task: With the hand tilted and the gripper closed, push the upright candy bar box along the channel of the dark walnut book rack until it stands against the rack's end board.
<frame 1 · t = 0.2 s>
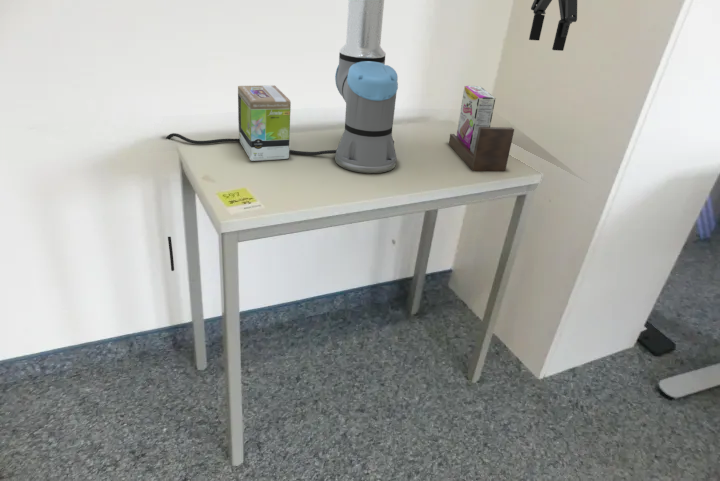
hand: (545, 45, 148), 28 cm above the table, tool pointing down, fingers open, 13 cm apart
candy bar box: (468, 151, 154), resting in book rack
tea box: (263, 150, 142), on the table
book rack: (474, 155, 151), on the table
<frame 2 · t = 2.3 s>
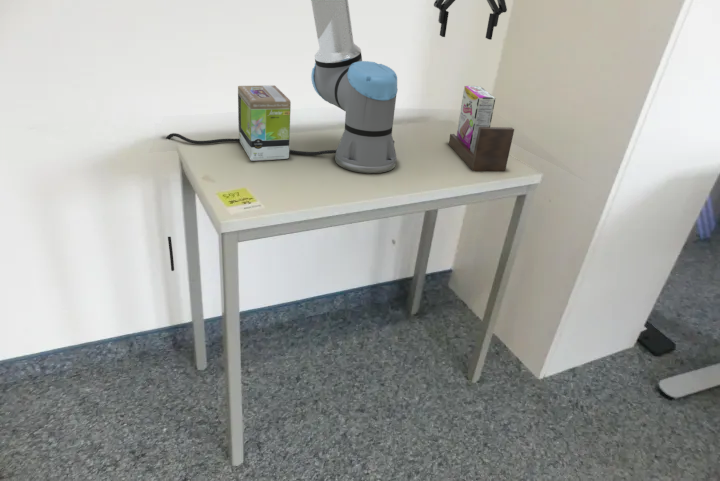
hand: (465, 37, 156), 27 cm above the table, tool pointing down, fingers open, 13 cm apart
nothing on the table moved.
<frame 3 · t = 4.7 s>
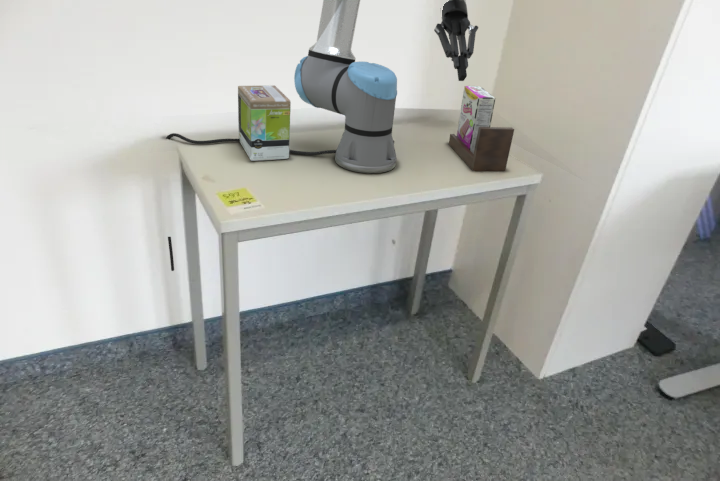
hand: (462, 78, 158), 16 cm above the table, tool tilted 45°, fingers closed
nothing on the table moved.
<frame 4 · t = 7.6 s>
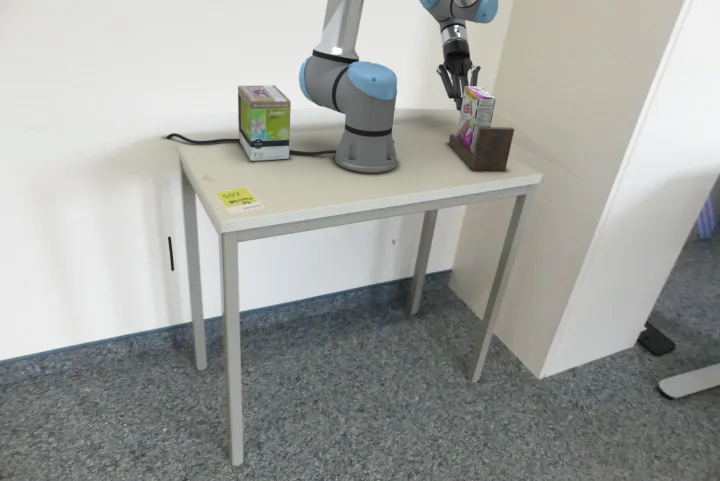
hand: (465, 120, 156), 7 cm above the table, tool tilted 45°, fingers closed
candy bar box: (468, 151, 154), resting in book rack, touching gripper
everything else where it was.
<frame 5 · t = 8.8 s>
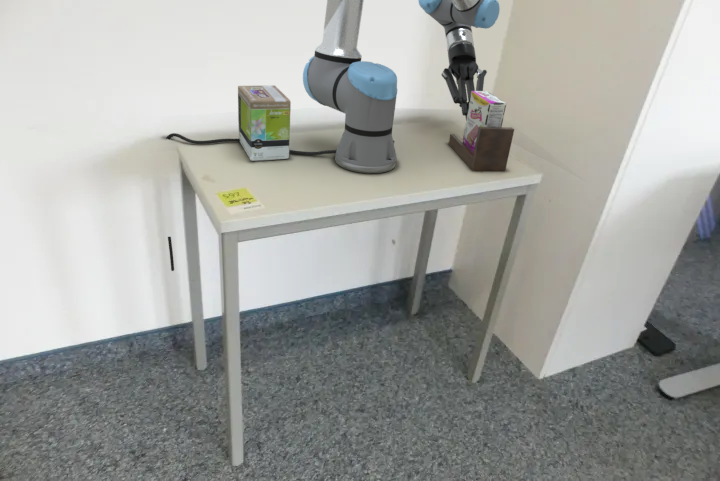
hand: (471, 125, 152), 6 cm above the table, tool tilted 45°, fingers closed
candy bar box: (476, 157, 150), resting in book rack, touching gripper
everything else where it was.
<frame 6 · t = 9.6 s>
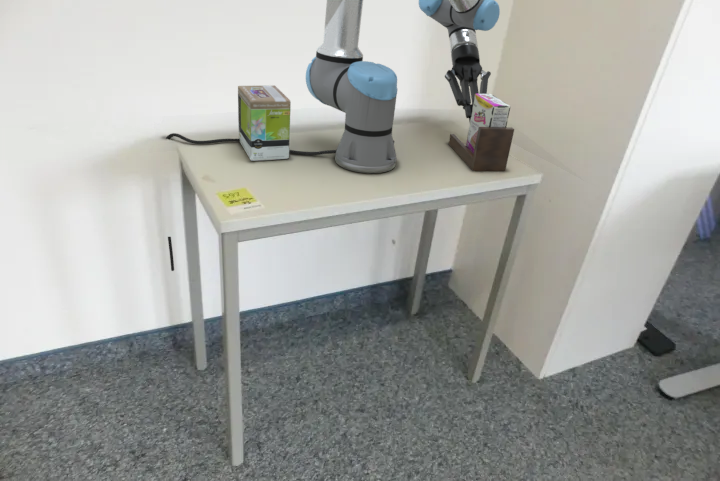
hand: (475, 128, 150), 7 cm above the table, tool tilted 45°, fingers closed
candy bar box: (480, 161, 148), resting in book rack, touching gripper
everything else where it was.
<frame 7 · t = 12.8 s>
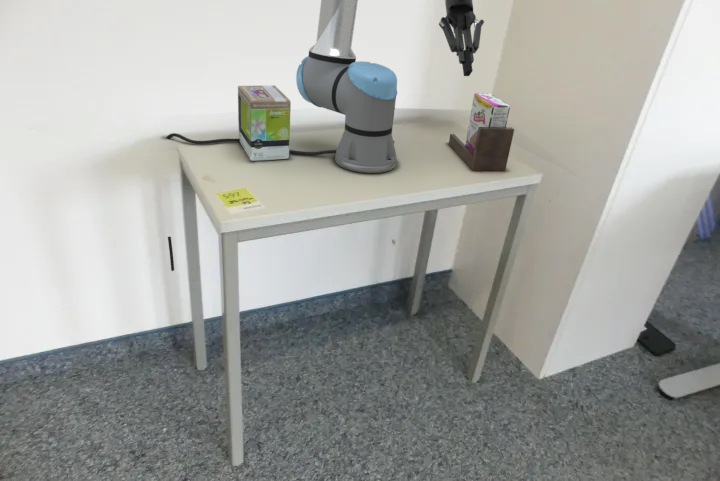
hand: (468, 73, 153), 19 cm above the table, tool tilted 45°, fingers closed
candy bar box: (479, 161, 148), resting in book rack
everything else where it was.
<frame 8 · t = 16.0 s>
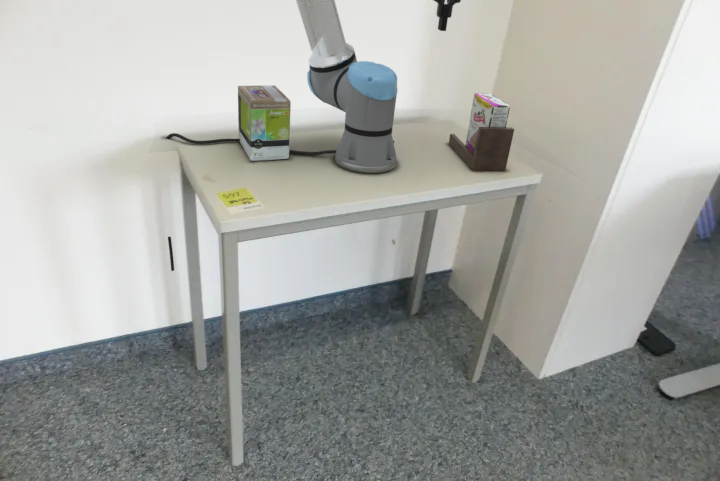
hand: (441, 29, 153), 28 cm above the table, tool pointing down, fingers closed
nothing on the table moved.
at the end: candy bar box 0.4 cm from the target spot, resting in book rack; candy bar box tilted 0°; candy bar box moved 7.3 cm from its start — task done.
